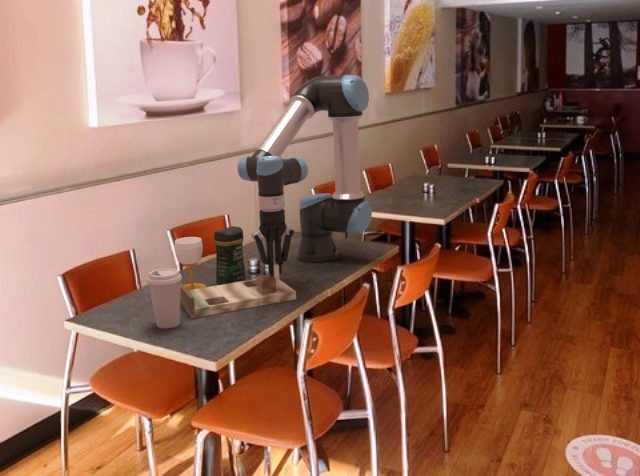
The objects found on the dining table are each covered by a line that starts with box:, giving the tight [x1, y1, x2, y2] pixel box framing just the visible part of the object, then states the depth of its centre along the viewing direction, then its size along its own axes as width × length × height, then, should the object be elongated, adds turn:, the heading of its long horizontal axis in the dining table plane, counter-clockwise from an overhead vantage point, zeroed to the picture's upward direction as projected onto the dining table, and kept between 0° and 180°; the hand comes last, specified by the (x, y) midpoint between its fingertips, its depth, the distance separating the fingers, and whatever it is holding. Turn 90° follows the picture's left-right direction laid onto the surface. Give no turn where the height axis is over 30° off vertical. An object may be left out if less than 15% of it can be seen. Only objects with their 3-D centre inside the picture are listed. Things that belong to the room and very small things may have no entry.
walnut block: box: [255, 273, 276, 295], centre depth 205 cm, size 4×4×4 cm
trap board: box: [180, 278, 297, 319], centre depth 206 cm, size 32×18×6 cm, turn 115°
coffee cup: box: [146, 267, 183, 329], centre depth 187 cm, size 10×10×15 cm
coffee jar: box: [213, 225, 247, 285], centre depth 221 cm, size 10×8×19 cm
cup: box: [174, 236, 207, 290], centre depth 217 cm, size 9×9×16 cm
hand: (275, 285), depth 207 cm, fingers closed
